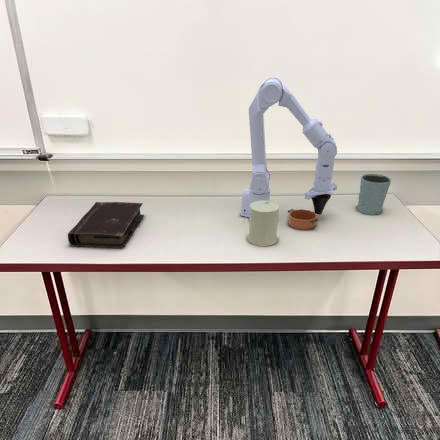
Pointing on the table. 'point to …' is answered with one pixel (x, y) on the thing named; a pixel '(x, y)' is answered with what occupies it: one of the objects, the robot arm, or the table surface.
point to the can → (263, 223)
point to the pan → (302, 219)
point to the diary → (106, 225)
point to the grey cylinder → (372, 193)
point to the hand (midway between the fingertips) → (318, 213)
